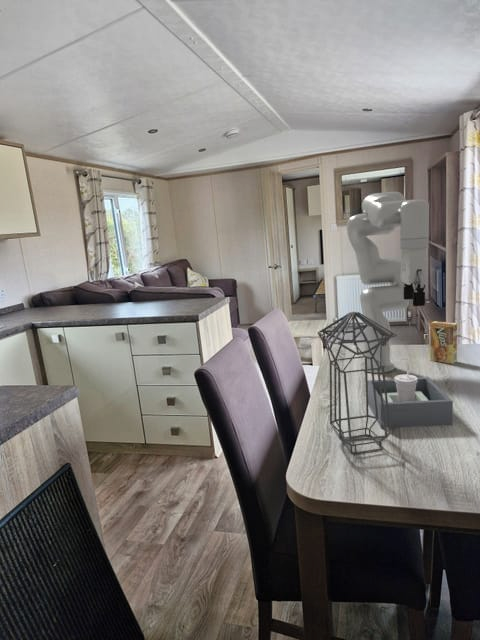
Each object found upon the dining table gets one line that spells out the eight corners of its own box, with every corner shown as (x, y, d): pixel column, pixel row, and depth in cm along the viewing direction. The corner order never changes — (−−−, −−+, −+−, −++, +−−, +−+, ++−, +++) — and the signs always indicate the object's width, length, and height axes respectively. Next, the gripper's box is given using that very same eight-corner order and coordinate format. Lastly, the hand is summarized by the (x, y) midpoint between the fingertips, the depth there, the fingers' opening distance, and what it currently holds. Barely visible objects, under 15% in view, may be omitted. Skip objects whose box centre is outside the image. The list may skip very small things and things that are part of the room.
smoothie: (419, 413, 125) (419, 367, 122) (396, 413, 127) (395, 367, 124) (415, 404, 131) (415, 360, 128) (393, 404, 133) (392, 360, 130)
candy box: (457, 361, 169) (457, 322, 165) (452, 364, 166) (453, 325, 163) (434, 358, 175) (434, 320, 172) (429, 360, 172) (429, 323, 169)
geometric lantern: (340, 463, 105) (331, 321, 99) (323, 435, 121) (314, 310, 114) (404, 454, 106) (398, 313, 100) (378, 427, 121) (372, 304, 115)
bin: (366, 401, 139) (366, 380, 138) (428, 398, 137) (428, 377, 136) (381, 428, 121) (380, 404, 119) (452, 425, 119) (452, 401, 117)
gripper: (393, 243, 135) (393, 297, 139) (409, 247, 118) (408, 309, 122) (418, 241, 134) (418, 296, 138) (438, 245, 117) (436, 307, 121)
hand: (413, 302), depth 130 cm, fingers open, 9 cm apart
